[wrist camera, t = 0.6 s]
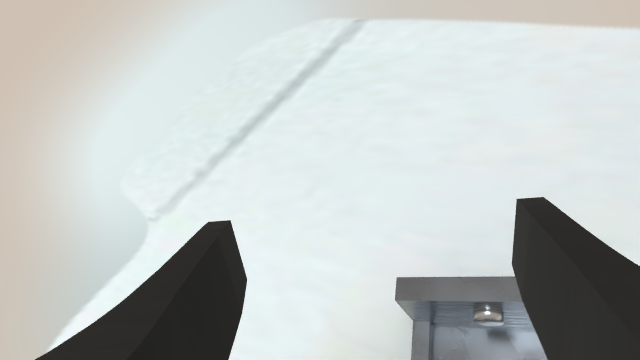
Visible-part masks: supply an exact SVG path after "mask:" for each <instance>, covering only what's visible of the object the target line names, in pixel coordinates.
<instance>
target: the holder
mask: <svg viewBox="0 0 640 360" xmlns="http://www.w3.org/2000/svg"><path fill="white" fill-rule="evenodd" d="M395 301H396V302H397V303H398V304H399V305H400V306H401V308H402V309H403V310H404V311H405V312H406V313H407V314H408V315H409V317H410V318H411V319H412V320H413V336H412V354H411V360H548V359H547V357H546V354H545V352H544V350H543V348H542V345H541V343H540V341H539V338H538V336H537V334H536V332H535V329H534V327H533V325H532V322H531V320H530V318H529V315H528V313H527V311H526V308H525V306H524V304H523V301H522V298H521V295H520V291H519V288H518V285H517V281H516V277H398V278H397V281H396V295H395Z"/></svg>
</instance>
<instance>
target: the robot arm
mask: <svg viewBox="0 0 640 360" xmlns="http://www.w3.org/2000/svg"><path fill="white" fill-rule="evenodd" d="M512 266H513V270H514V274H515V277H516V281H517V285H518V288H519V291H520V295H521V298H522V301H523V304H524V306H525V308H526V311H527V313H528V315H529V318H530V320H531V322H532V325H533V327H534V329H535V332H536V334H537V336H538V338H539V341H540V343H541V345H542V348H543V350H544V352H545V354H546V357H547V359H548V360H640V266H638V265H637V264H635V263H634V262H632V261H630V260H629V259H627V258H626V257H624V256H623V255H621V254H620V253H618V252H617V251H615V250H614V249H612V248H611V247H609V246H608V245H607V244H605V243H604V242H602V241H601V240H599V239H598V238H597V237H595V236H594V235H593V234H591V233H590V232H589V231H587V230H586V229H584V228H583V227H582V226H580V225H579V224H578V223H577V222H575V221H574V220H573V219H571V218H570V217H569V216H567V215H566V214H565V213H564V212H562V211H561V210H560V209H558V208H557V207H556V206H554V205H553V204H552V203H551V202H549V201H548V200H546V199H545V198H544V197H538V198H525V199H517V203H516V216H515V230H514V243H513V257H512ZM246 284H247V277H246V274H245V270H244V267H243V263H242V260H241V256H240V253H239V249H238V246H237V242H236V238H235V235H234V231H233V228H232V224H231V221H230V220H229V221H216V222H208V223H207V224H205V225H204V226H203V227H202V228H201V229H200V230H199V231H198V232H197V233H196V234H195V235H194V236H193V237H192V238H191V239H190V240H189V241H188V242H187V243H186V244H185V245H184V246H183V247H181V248H180V249H179V250H178V251H177V252H176V253H175V254H174V255H173V256H172V257H171V258H170V259H169V260H168V261H167V262H166V263H165V264H164V265H163V266H162V267H161V268H160V269H159V270H158V271H156V272H155V273H154V274H153V275H152V276H151V277H150V278H148V279H147V280H146V281H145V282H144V283H143V284H142V285H141V286H139V287H138V288H137V289H136V290H135V291H134V292H133V293H131V294H130V295H129V296H128V297H127V298H125V299H124V300H123V301H122V302H120V303H119V304H118V305H117V306H115V307H114V308H113V309H112V310H110V311H109V312H107V313H106V314H105V315H103V316H102V317H101V318H99V319H98V320H97V321H95V322H94V323H92V324H91V325H90V326H88V327H87V328H85V329H84V330H82V331H80V332H79V333H77V334H76V335H74V336H73V337H71V338H70V339H68V340H66V341H65V342H63V343H62V344H60V345H59V346H57V347H56V348H54V349H52V350H51V351H49V352H47V353H46V354H44V355H42V356H41V357H39V358H37V359H35V360H228V359H229V356H230V352H231V349H232V346H233V342H234V339H235V336H236V332H237V329H238V325H239V322H240V318H241V315H242V310H243V304H244V298H245V291H246Z"/></svg>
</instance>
